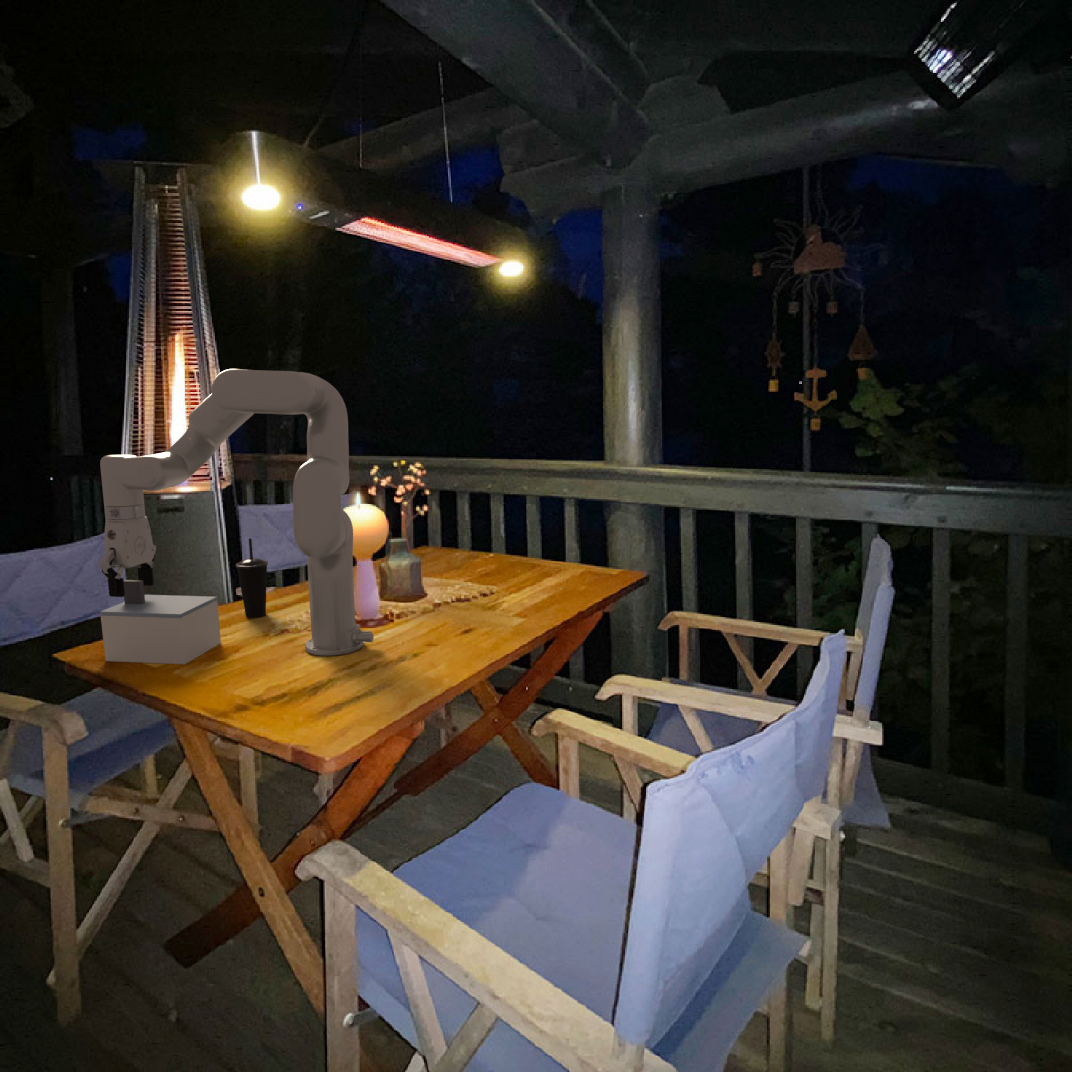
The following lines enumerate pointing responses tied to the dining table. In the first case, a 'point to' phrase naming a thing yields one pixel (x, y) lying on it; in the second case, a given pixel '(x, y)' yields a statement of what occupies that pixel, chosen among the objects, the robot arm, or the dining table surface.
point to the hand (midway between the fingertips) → (132, 590)
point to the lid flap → (155, 603)
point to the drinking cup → (253, 584)
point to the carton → (161, 637)
